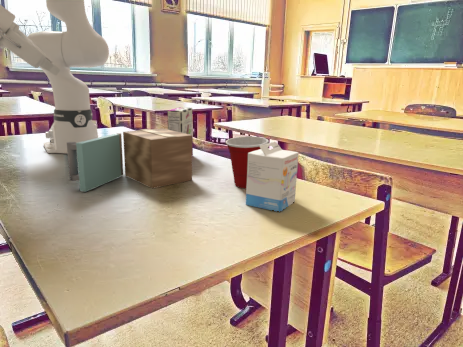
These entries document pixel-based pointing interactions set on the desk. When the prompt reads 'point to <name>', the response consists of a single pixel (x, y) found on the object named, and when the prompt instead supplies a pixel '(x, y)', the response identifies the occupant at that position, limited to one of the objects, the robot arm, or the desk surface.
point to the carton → (158, 156)
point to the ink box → (271, 177)
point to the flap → (95, 161)
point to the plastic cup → (242, 156)
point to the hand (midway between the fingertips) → (54, 68)
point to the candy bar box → (181, 121)
